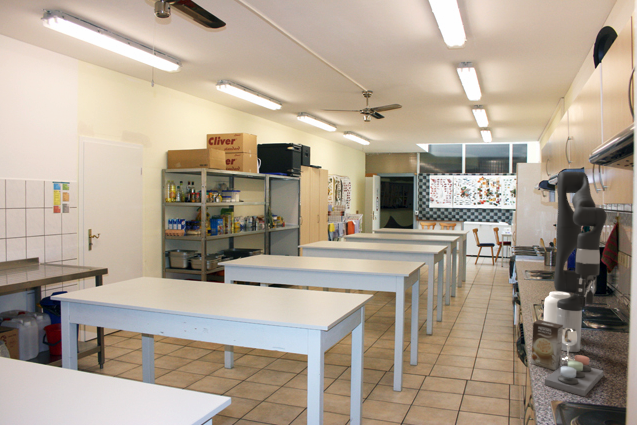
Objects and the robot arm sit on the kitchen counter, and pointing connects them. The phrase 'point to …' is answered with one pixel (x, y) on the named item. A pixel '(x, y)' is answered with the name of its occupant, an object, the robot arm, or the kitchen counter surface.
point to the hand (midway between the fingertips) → (585, 305)
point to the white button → (568, 371)
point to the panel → (575, 380)
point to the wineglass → (569, 340)
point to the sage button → (576, 365)
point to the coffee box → (547, 344)
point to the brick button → (582, 359)
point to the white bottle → (553, 305)
